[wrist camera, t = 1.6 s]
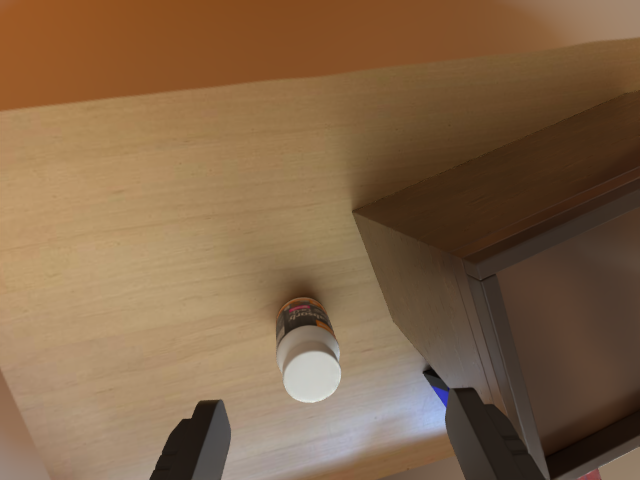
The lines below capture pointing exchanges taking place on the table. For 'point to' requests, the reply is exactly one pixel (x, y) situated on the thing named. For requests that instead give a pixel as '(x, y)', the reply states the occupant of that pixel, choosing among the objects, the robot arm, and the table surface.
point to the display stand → (529, 282)
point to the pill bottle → (307, 350)
